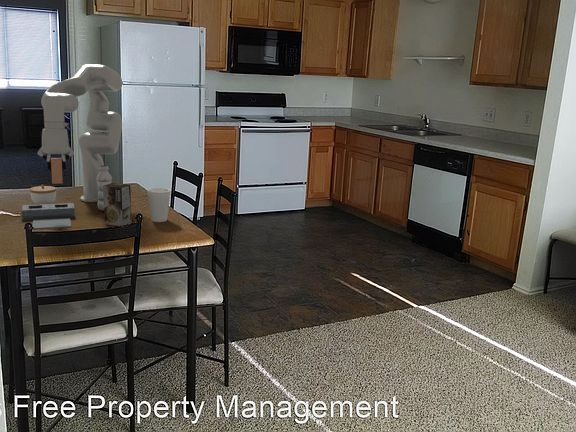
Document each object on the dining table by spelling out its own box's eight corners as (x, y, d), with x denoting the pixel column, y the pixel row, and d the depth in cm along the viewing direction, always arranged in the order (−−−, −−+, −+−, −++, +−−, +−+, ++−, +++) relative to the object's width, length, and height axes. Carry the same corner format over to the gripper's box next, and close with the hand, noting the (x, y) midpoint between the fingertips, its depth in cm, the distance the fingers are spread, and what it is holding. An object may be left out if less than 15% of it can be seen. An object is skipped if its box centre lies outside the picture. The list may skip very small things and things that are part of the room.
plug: (62, 182, 236) (61, 158, 234) (62, 183, 233) (61, 159, 231) (52, 182, 235) (50, 158, 233) (52, 183, 231) (50, 159, 229)
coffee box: (132, 223, 235) (131, 184, 231) (122, 227, 229) (121, 187, 225) (113, 220, 238) (112, 182, 234) (103, 224, 232) (102, 185, 228)
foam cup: (151, 216, 246) (150, 187, 243) (172, 217, 246) (172, 188, 243) (145, 222, 237) (144, 191, 234) (167, 223, 237) (167, 193, 233)
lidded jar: (31, 208, 249) (29, 187, 246) (30, 203, 258) (29, 182, 256) (57, 207, 253) (56, 186, 251) (56, 201, 263) (55, 182, 260)
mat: (70, 219, 236) (69, 218, 236) (71, 226, 226) (71, 225, 225) (33, 220, 231) (33, 220, 231) (32, 229, 220) (32, 228, 220)
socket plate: (73, 211, 247) (73, 202, 246) (74, 217, 239) (74, 208, 238) (23, 214, 240) (22, 205, 239) (22, 219, 232) (21, 210, 231)
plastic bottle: (116, 210, 253) (115, 165, 248) (105, 213, 247) (104, 167, 242) (105, 208, 256) (103, 164, 251) (94, 211, 250) (92, 166, 245)
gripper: (76, 125, 235) (78, 169, 240) (32, 124, 229) (34, 169, 233) (77, 127, 229) (78, 172, 233) (31, 126, 222) (34, 172, 227)
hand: (56, 170), depth 233 cm, fingers closed on plug, 4 cm apart
